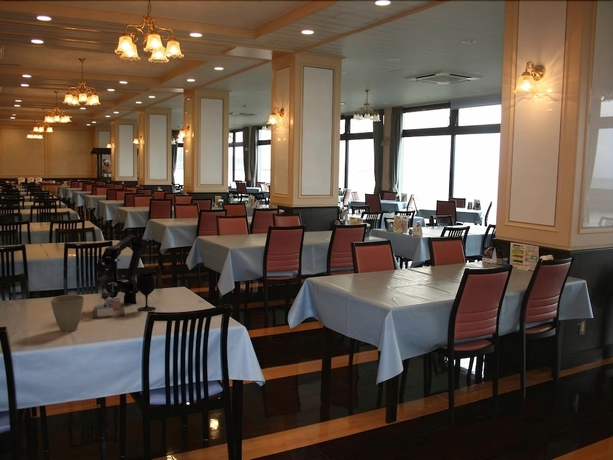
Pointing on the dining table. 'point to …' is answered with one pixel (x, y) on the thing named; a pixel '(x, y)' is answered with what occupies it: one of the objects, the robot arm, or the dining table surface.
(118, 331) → the dining table surface
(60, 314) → the plant pot
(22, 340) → the dining table surface
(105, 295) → the black plunger
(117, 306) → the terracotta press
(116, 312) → the walnut board
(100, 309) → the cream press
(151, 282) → the wine glass
